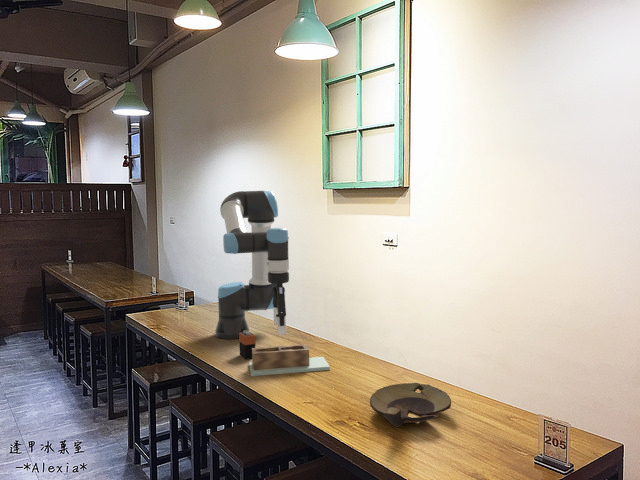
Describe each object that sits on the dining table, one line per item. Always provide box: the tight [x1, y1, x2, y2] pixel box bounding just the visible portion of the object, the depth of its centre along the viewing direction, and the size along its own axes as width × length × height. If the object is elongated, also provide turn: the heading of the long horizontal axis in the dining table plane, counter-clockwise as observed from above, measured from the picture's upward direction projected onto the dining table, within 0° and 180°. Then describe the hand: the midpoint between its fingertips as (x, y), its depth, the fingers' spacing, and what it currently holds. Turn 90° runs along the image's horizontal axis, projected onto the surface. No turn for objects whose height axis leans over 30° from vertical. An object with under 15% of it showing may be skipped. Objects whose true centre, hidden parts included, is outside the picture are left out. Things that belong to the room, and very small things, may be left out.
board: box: [248, 356, 331, 377], centre depth 194 cm, size 28×12×4 cm, turn 101°
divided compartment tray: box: [251, 343, 310, 370], centre depth 193 cm, size 20×7×6 cm, turn 101°
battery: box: [238, 330, 256, 360], centre depth 208 cm, size 4×7×10 cm, turn 29°
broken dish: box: [369, 382, 452, 428], centre depth 150 cm, size 22×30×8 cm
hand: (279, 329), depth 192 cm, fingers open, 13 cm apart
